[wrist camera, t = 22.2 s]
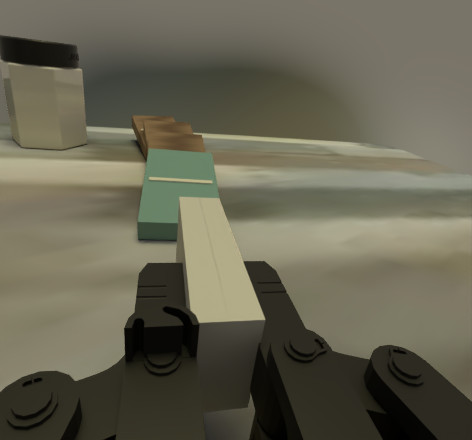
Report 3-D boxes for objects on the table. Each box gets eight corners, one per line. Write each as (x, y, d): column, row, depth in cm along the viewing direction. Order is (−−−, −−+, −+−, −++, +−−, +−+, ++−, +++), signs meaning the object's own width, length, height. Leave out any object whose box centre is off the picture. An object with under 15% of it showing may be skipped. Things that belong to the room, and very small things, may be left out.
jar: (95, 148, 43) (89, 46, 38) (24, 153, 38) (6, 36, 33) (72, 133, 49) (63, 43, 44) (7, 135, 44) (-11, 33, 39)
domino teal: (137, 220, 22) (148, 147, 31) (138, 240, 24) (149, 164, 32) (223, 223, 24) (212, 151, 32) (220, 242, 25) (210, 168, 33)
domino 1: (145, 147, 40) (131, 114, 48) (145, 161, 41) (131, 126, 49) (192, 146, 43) (172, 115, 51) (191, 159, 44) (171, 127, 52)
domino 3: (146, 184, 29) (149, 129, 37) (146, 201, 30) (149, 144, 38) (213, 187, 30) (201, 134, 39) (211, 203, 32) (200, 148, 40)
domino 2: (149, 162, 35) (143, 118, 43) (149, 177, 36) (143, 132, 44) (204, 164, 37) (189, 121, 45) (202, 178, 38) (188, 134, 46)
